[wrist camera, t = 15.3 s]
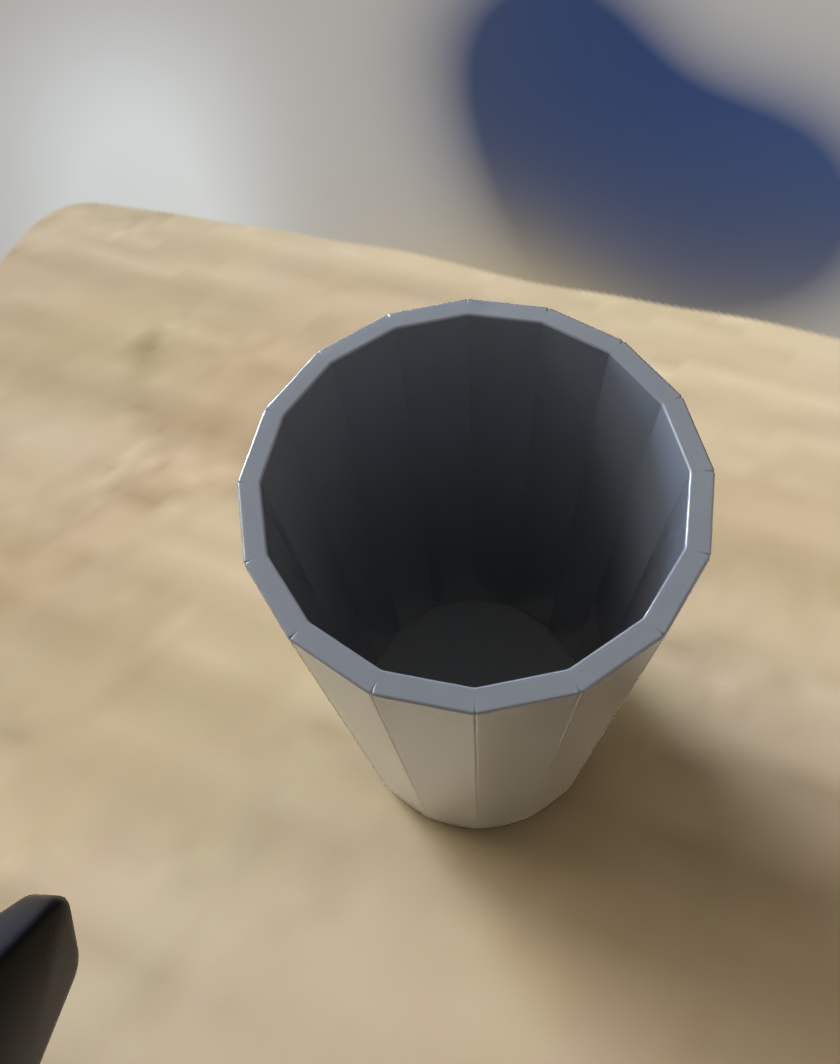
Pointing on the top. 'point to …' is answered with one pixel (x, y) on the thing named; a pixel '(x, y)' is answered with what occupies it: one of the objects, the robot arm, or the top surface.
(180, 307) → the top surface
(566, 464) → the tumbler
